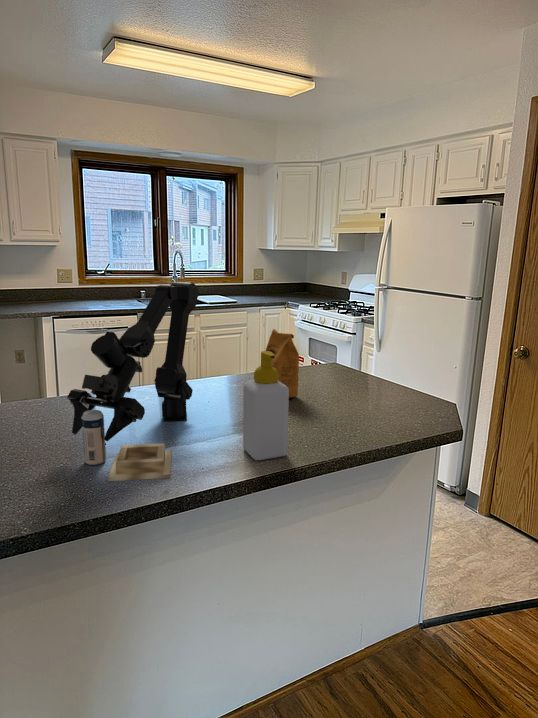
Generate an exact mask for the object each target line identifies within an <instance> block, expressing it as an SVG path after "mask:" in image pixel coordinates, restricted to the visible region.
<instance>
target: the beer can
mask: <svg viewBox="0 0 538 718" xmlns="http://www.w3.org/2000/svg"><path fill="white" fill-rule="evenodd" d="M104 418H105V417H104V413H103V411H102V410H99V409H92V410H88V411H86V412H84V413H83V416H82V417H81V419H82V428H81V430H82V432H81V433H82V443H83V445H82V446H83V456H84V457H83V459H84V460H83V461H84V463H85V464H87V465H90V466H98V465H101V464H103V463H104V462H105V461H106V460H107V450H106V440H104V438H105V435H106V433H105V431H106V430H105V419H104Z"/></svg>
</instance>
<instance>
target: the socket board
mask: <svg viewBox="0 0 538 718" xmlns="http://www.w3.org/2000/svg"><path fill="white" fill-rule="evenodd" d="M172 457H173V450H166V443H164V442H163V443H147V444H146V443H145V444H125V445H123V444H121V446H120V448H119V452H115V456H114V459H113V462H112V464H111V467H110V470H109V474H108V477H107V482H122V481H138V480H139V481H140V480H155V479H156V480H157V479H158V480H159V479H171V473H172V459H173V458H172Z"/></svg>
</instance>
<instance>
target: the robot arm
mask: <svg viewBox="0 0 538 718" xmlns="http://www.w3.org/2000/svg"><path fill="white" fill-rule="evenodd" d="M199 294H200V291H199V288H198V287H197V285H196V284H195V283H194V282H185V281H184V282H181V281H172V282H171V283H170V284H159V285H156V287H155V289H154V294H153V296H152V297H151V299H150V300H149V302H148V304H147V306H146V307H145V309H144V311H143V312H142V314H141V316H140V317H139V319H138V320H137V322H136V323H135V324H134V325H132V326H130V327H128V328H127V329H126V330H125V331H124V332H123V334H122V335H121V337H120V338H119V337H118V335H117V334H116V333H115V332H114V331H106V332H105V334H104V335H101V336H100V337H99V336H98V337H97V339H95V340H94V341H93V342H92V343H91V346H90V351H91V353H92V354H93V355H94V356H95V357H96V358H97V359H98V360H99V362H101V364H103V365H104V367H106V368H108V369H109V370H108V372H107V374H102V375H101V376H97V375H92V374H91V375H90V374H84V377H83V381H82V385H81V389H79V388H78V389H77V388H74V389H71V390H70V391H69V393H68V394H67V397H66V399H67V400H69V404H71V405H72V407H73V410H74V411H73V422H72V429H71V434H73V435H78V433H79V432H80V430H82V419H81V417H82V416H83V413H84V412H86V411H88V410H95V407H101V408H105V409H106V408H107V409H111V410H113V418H112V420H111V421H110V424H109V427H108V428H107V431H106V433H105V438H104V440H105V442H109V441H110V440H111V439H112V438H114V437H115V436H116V435H117V434H118V433H119V432H121V431H122V430H124V429H125V428H126V427H128V426H129V425H130V424H132V423H136V422H137V420H139V421H142V420H143V418H144V416H145V413H146V412H145V411H146V409H145V407H144V406H143V405H142V404H141V403H140V402H139V401H138V399H136V398H134V397H133V398H132V397H127V396H125V394H126V393H130V392H131V390H132V388H131V387H130V384H131V382H132V380H133V378H134V376H135V375H136V373H142V372H143V367H142V366H141V361H139V360H136V359H135V358H142V359H143V358H148V357H149V356H150V354H151V352H152V350H153V347H154V346H155V342H156V341H155V340H156V339H155V333H156V332H157V329H158V327H159V326H160V324H161V322H162V320H163V318H164V317H165V314H166V313H167V311H168V309H170V311H171V312H170V321H169V329H168V336H167V343H166V350H165V358H164V359H165V360H164V362H163V364H162V365H161V366H160V367H159V366H158V367H156V370H155V377H154V380H153V381H154V386H155V391H156V393H157V397H158V398H163V400H162V402H161V411H162V412H161V414H162V415H161V417H162V418H163V421H164V422H175V421H187V420H188V415H187V414H188V413H187V400H190V399H191V398H192V396H193V388H192V386H191V385H190V384H189V383H188V382H187V376H188V375H187V372H186V370H185V368H184V365H183V363H184V354H185V346H186V340H187V332H188V325H189V317H190V314H191V312H193V310H194V309H195V307H196V306H197V301H198V297H199V296H200V295H199ZM82 389H83V390H82ZM86 389H87V390H91V391H90V392H91V393H92V395H94V396H92V395H91V394H90V392H88V391H87V390H86Z"/></svg>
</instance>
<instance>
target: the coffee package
mask: <svg viewBox="0 0 538 718" xmlns="http://www.w3.org/2000/svg"><path fill="white" fill-rule="evenodd" d="M294 336H295V335H294V334H293V333H285V332H284V333H282V332H279V331H278V330H276V329H275V328H273V329H272V331H271V334H270V336H269V339H268V342H267V345H266V347H265V351H270V352H272V353H273V354H274V355H275V359H272V367H274V368H275V369H276V370H277V371H278V381H279V382H281V383H282V384H284V385H286V386H287V387H288V389H289V399H290V398H295V397H298V396H299V392H298V390H299V379H300V378H299V371H300V370H299V368H300V366H299V364H300V355H299V352H298V350H297V347H296V346H295V343H294V341H293V339H294V338H295V337H294Z"/></svg>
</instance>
